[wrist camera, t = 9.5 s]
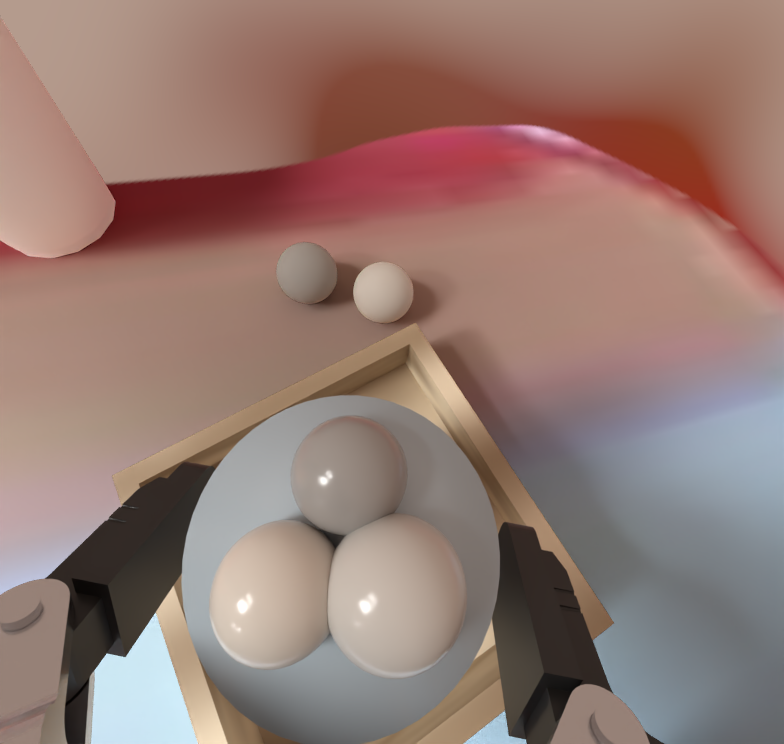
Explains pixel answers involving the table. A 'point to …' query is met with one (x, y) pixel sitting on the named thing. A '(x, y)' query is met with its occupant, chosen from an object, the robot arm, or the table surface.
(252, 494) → the pebble jar
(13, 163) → the foam cup
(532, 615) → the robot arm
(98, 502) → the table surface
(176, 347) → the table surface
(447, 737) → the birch tray
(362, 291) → the pebble
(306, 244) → the pebble
